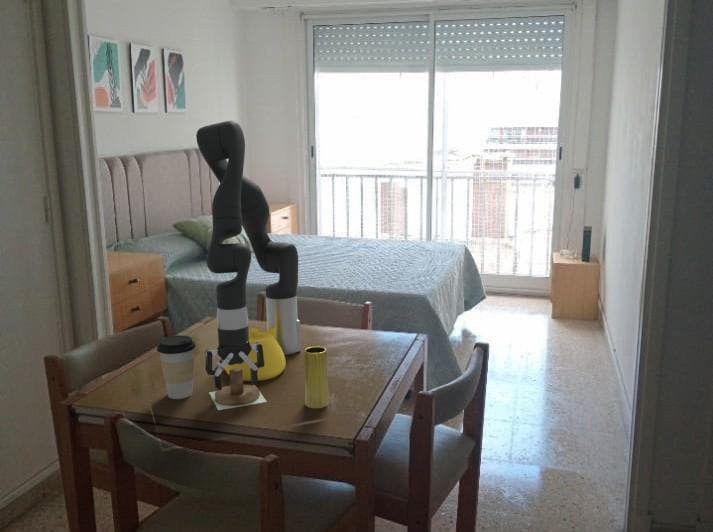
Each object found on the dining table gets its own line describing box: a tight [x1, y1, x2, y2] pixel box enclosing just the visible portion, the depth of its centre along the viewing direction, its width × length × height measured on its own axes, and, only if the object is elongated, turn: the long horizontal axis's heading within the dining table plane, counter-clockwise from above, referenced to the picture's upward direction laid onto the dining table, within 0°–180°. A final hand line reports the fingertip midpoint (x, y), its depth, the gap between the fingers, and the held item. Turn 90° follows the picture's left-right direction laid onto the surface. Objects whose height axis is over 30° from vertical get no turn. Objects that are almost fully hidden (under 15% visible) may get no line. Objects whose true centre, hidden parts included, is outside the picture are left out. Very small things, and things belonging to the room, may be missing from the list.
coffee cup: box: [156, 335, 197, 400], centre depth 173 cm, size 9×9×15 cm
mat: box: [208, 384, 268, 411], centre depth 172 cm, size 12×12×1 cm
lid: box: [215, 368, 260, 406], centre depth 171 cm, size 11×11×7 cm
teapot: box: [224, 327, 286, 382], centre depth 190 cm, size 20×19×13 cm
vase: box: [303, 345, 330, 409], centre depth 165 cm, size 6×6×14 cm
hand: (236, 386), depth 171 cm, fingers open, 8 cm apart
